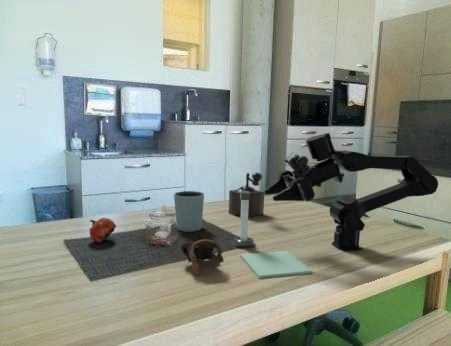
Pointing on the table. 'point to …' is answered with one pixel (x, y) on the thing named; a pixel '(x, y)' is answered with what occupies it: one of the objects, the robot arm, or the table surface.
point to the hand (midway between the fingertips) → (268, 195)
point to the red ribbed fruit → (101, 229)
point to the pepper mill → (255, 198)
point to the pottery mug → (202, 255)
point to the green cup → (189, 210)
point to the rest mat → (274, 264)
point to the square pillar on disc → (244, 223)
